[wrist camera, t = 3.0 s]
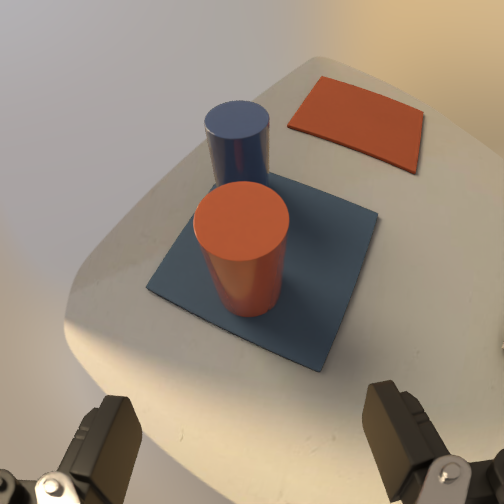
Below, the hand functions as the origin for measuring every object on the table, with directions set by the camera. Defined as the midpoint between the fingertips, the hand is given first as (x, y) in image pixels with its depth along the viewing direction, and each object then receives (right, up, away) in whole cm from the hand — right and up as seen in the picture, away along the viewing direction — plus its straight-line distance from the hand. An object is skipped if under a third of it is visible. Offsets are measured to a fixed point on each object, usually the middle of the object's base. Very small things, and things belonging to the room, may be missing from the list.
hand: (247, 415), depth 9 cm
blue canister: (-1, +11, +21) cm, 24 cm away
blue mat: (+2, +5, +18) cm, 19 cm away
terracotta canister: (0, +2, +16) cm, 17 cm away
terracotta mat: (+15, +23, +27) cm, 38 cm away
